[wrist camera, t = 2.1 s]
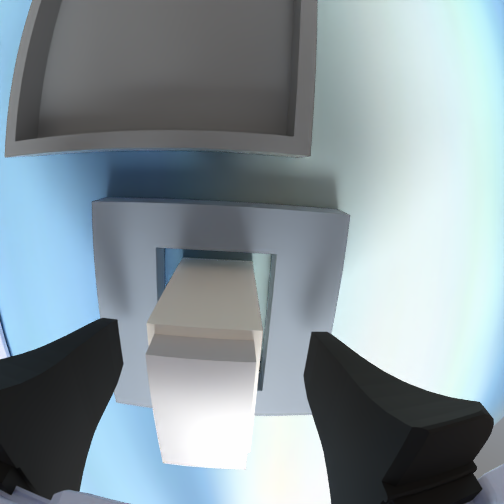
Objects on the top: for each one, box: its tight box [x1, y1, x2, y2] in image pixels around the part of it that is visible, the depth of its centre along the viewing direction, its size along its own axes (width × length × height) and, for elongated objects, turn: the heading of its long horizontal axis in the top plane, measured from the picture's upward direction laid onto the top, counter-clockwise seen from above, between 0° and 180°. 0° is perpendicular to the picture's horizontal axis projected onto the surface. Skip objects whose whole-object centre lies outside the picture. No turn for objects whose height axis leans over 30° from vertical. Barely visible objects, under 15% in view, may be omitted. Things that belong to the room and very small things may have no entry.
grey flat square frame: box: [92, 197, 350, 416], centre depth 14 cm, size 10×10×2 cm
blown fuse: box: [145, 257, 263, 469], centre depth 11 cm, size 3×5×7 cm, turn 176°
